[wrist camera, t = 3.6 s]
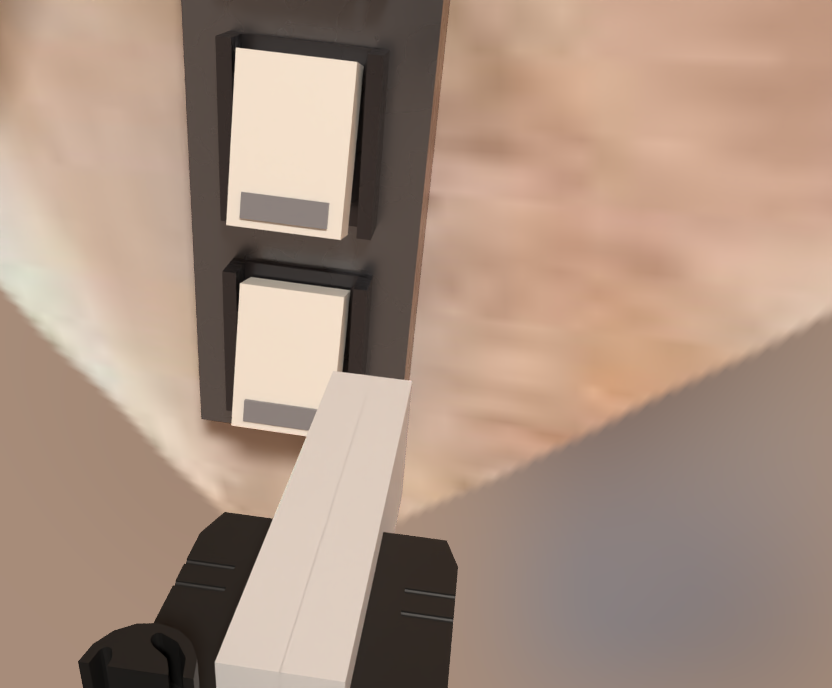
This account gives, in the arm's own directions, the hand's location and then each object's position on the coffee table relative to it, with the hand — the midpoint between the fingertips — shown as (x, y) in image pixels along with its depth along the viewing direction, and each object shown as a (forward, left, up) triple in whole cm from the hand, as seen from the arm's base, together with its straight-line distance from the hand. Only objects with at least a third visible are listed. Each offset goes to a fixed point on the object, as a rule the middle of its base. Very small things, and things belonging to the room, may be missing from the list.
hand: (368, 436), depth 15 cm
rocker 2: (+9, -6, -17) cm, 20 cm away
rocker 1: (-1, -6, -17) cm, 18 cm away
